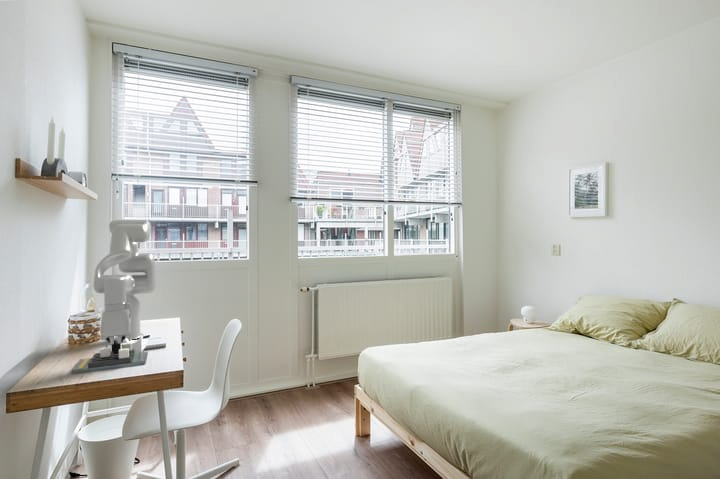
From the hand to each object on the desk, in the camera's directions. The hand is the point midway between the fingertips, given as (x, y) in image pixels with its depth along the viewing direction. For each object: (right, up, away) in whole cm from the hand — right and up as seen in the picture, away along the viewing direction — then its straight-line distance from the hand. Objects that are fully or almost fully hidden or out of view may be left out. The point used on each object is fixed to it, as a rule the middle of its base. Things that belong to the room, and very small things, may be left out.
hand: (116, 353), depth 158 cm
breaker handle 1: (+1, -2, +6) cm, 6 cm away
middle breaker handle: (-3, -3, -2) cm, 4 cm away
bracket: (-2, -4, +18) cm, 18 cm away
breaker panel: (-1, -4, -1) cm, 4 cm away
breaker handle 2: (+5, -3, -3) cm, 6 cm away
